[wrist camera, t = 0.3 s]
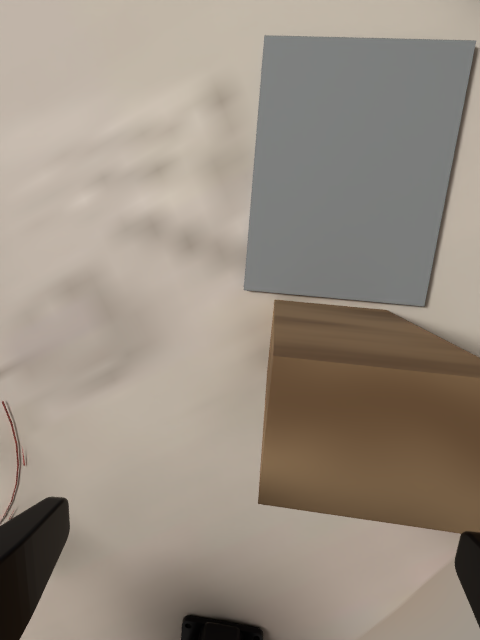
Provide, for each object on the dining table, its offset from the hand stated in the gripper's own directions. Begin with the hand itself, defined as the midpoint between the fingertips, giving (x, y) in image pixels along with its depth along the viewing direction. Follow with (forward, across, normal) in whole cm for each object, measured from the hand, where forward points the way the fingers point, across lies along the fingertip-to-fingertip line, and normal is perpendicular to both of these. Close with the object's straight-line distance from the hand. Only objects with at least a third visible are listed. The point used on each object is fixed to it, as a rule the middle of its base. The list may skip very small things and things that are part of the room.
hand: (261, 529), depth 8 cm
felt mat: (+15, -5, -10) cm, 19 cm away
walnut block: (+15, -4, 0) cm, 15 cm away
